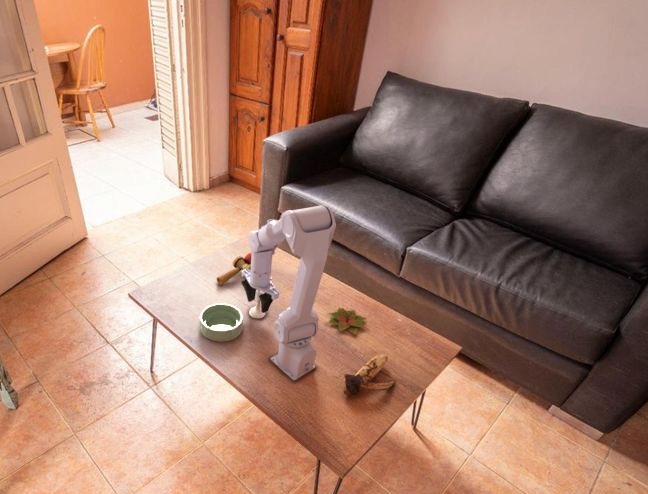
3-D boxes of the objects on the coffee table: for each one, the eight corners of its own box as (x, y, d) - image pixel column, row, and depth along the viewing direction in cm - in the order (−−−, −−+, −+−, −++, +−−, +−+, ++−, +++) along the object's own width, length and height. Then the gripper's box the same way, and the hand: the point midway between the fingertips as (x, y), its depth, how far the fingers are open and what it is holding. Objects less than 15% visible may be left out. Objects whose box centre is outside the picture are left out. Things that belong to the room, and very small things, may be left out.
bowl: (250, 331, 124) (251, 319, 121) (216, 348, 119) (216, 337, 116) (225, 309, 132) (225, 298, 129) (192, 325, 126) (191, 313, 123)
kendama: (229, 294, 140) (268, 267, 147) (225, 278, 136) (265, 252, 143) (214, 286, 145) (253, 261, 153) (210, 271, 141) (249, 246, 149)
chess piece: (264, 319, 128) (266, 293, 122) (248, 317, 129) (249, 290, 123) (266, 309, 132) (268, 283, 126) (250, 307, 133) (252, 281, 126)
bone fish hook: (365, 413, 103) (404, 374, 112) (370, 402, 100) (409, 362, 109) (334, 390, 108) (373, 354, 117) (338, 378, 105) (378, 343, 114)
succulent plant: (372, 319, 129) (376, 307, 126) (358, 341, 122) (361, 329, 119) (335, 304, 134) (338, 293, 131) (319, 325, 127) (322, 313, 124)
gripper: (289, 275, 117) (284, 313, 126) (255, 252, 126) (252, 289, 135) (269, 284, 114) (266, 322, 123) (236, 260, 123) (235, 297, 132)
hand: (257, 305), depth 129 cm, fingers open, 6 cm apart
